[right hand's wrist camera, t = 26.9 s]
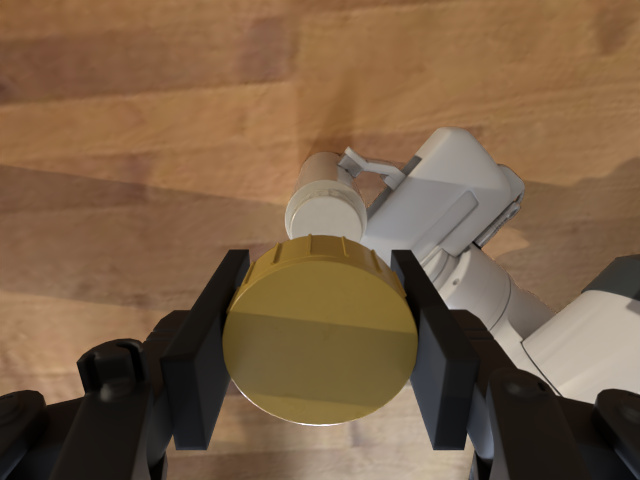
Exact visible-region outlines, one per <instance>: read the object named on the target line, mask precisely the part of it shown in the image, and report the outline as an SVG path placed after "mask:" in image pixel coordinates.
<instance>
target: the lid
mask: <svg viewBox="0 0 640 480" xmlns="http://www.w3.org/2000/svg"><path fill="white" fill-rule="evenodd" d="M405 296H407V295H406V293H405V291H404V289H403V287H402V285H401V282H400V280H399V278H398V276H397V274H396V272H395V271H393V272H392V270H391V269H390V268H389V266H388V265H387V264H386V263H385V262H384V260H382V259H381V258H380V257H379V256H378V255H377V254H376V251H375V250H374V249H372V250H370V249H369V248H367V247H365V246H363V245H361V244H359V243H357V242H355V241H352V240H349V239H346V237H345V236H342V237H337V236H330V235H312V234H308V236H303V237H298V238H295V239H291V240H288V241H286V242H283V243H281V244H280V243H277V244H276V246H275V247H274V248H272V249H270V250H269V251H267V252H266V253H265V254H264V255H262V256H261V257H260V258H259V259H258V260H257V261H256V262H254V261H253V262H252V263H251V265H250V267H249V270H248V272H247V274H246V276H245V278H244V280H243V282H242V284H241V286H240V287H237V289H236V292H235V294H234V296H233V298H232V300H231V302H230V305H229V307H228V309H227V311H226V314H228V315H227V318H226V321H225V324H224V328H223V334H222V345H223V354H224V361H225V365H226V368H227V370H228V372H229V374H230V377H231V379H232V380H233V382H234V383H235V385H236V386H237V388H238V389H239V390H240V391H241V392H242V393H243V394H244V396H245V397H246V398H248V399H249V400H250V401H251V402H252V403H253V404H255V405H256V406H258V407H259V408H261V409H262V410H264V411H266V412H268V413H269V414H271V415H273V416H276V417H278V418H281V419H283V420H287V421H291V422H294V423H300V424H305V425H334V424H341V423H346V422H350V421H354V420H357V419H359V418H362V417H365V416H367V415H369V414H371V413H373V412H375V411H376V410H378V409H380V408H381V407H383V406H384V405H386V404H387V403H388V402H389V401H391V400H392V399H393V398H394V397H395V396H396V395H397V394H398V393H399V392H400V390H401V389H402V388H403V387H404V385H405V384H406V382H407V381H408V379H409V377H410V375H411V374H412V371H413V368H414V366H415V363H416V356H417V348H418V331H417V327H416V323H415V319H414V317H413V315H412V312H411V310H410V308H409V306H408V303H407V301H406V299H405Z"/></svg>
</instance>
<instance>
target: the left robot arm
mask: <svg viewBox="0 0 640 480" xmlns="http://www.w3.org/2000/svg"><path fill="white" fill-rule="evenodd" d="M337 163H338V164H339V165H340V166H341V167H342V168H344V169H347V170H348V172H349V173H350V174H351V175H352V176H353V177H354V178H356V177H357V176H358V174H359V173H360V172H361V171H362V170H363V171H369V172H375V173H381V174H380V177H381V179H382V180H383V181H384V182H385V183H386V184H387V187H386V188H385V189H384V190H383V191H382V192H381V193H380V195H379V196H378V197H377V198H376V199H375V200H374V201H373V203H372V204H371V205H370V206H369V207H368V208H367V209H366V211H367V227H366V231H365V234H364V236H363V238H362V239H361V241H360V243H359V244H361V245H363V246H365V247H367V248H369V249H370V250H372V249H374V250H375V251H376V254H377V255H378V256H379V257H380V258H381V259H382V260H384V262H385V263H386V264H387V265H388V266H389V268H390V263H391V250H411V251H412V252H413V254H414V255H415V257H416V259H417V260H418V262H419V263H420V265H421V266H422V268H423V269H424V271H425V273H426V274H427V276H428V277H429V279H430V280H431V282H432V283H433V285H434V287H435V288H436V290H437V291H438V293H439V294H440V296H441V297H442V299H443V301H444V302H445V304H446V305H447V307H448V308H449V309H467V310H468V311H470V312H471V313H472V314H474V315H475V316H477V317H478V318H480V320H481V321H482V322H483V323H484V325H485V326H486V327H487V330H488V331H490V333H491V334H492V335H493V337H494V340H496V341H497V342H498V343H499V345H500V346H501V347H502V348H503V350H504V351H505V352H506V354H507V355H508V356H509V358H510V359H511V360H512V362H513V363H514V364H515V366H516V367H517V368H518V369H521V370H525V371H528V372H530V373H532V374H534V375H536V376H538V377H540V378H541V379H542V380H544V381H545V382H546V383H547V384H549V386H550V387H551V388H552V390H553V391H554V393H555V395H558V396H561V397H565V398H569V399H574V400H578V401H583V402H587V403H592V404H595V401H596V398H597V395H598V393H600V392H601V391H602V390H604V389H612V388H614V389H621V390H627V391H630V392H634V393H637V394H639V395H640V254H637V255H629V256H623V257H617V258H615V259H614V260H613V261H612V262H611V263H610V264H609V265H608V266H607V267H606V268H605V269H604V270H603V271H602V272H601V273H600V274H599V275H598V276H597V277H596V278H595V279H594V280H593V281H592V282H591V283H590V284H589V285H588V286H587V287H586V288H584V289H583V290H582V292H581V295H580V296H578V297H577V298H576V299H575V300H573V301H572V302H571V303H570V304H568V305H567V306H566V307H565V308H563V309H562V310H561V311H560V312H558V313H557V314H556V313H555V312H553V311H552V310H551V309H550V308H549V307H548V306H547V305H546V304H545V303H543V302H542V301H541V300H540V299H539V298H538V297H536V296H535V295H533V294H532V293H530V292H528V291H526V290H523V289H521V288H519V287H517V286H516V285H515V283H514V281H513V279H512V278H511V276H510V275H509V274H508V273H507V272H506V271H505V270H504V269H503V268H502V267H501V266H500V265H498V264H497V263H496V262H495V261H494V260H493V259H491V258H490V257H489V256H488V255H487V254H485V253H484V252H483V251H482V249H481V248H482V247H483V246H484V245H485V244H486V243H487V242H488V241H489V240H490V239H491V238H492V237H493V236H494V235H495V234H496V233H497V232H498V231H499V229H500V228H501V226H503V225H504V224H505V223H506V222H507V221H508V220H511V219H512V218H513V217H514V216H515V215H516V214H517V213H518V212H519V210H520V209H521V206H520V205H519V204H520V203H521V201H522V199H523V197H524V192H525V185H524V183H523V181H522V180H521V178H520V177H519V176H518V175H517V174H516V173H514V172H513V171H512V170H511V169H510V168H509V167H507V166H506V165H503V164H496V162H495V161H494V160H493V158H492V157H491V156H490V155H489V153H488V152H487V151H486V150H485V148H484V147H483V146H482V145H481V144H480V143H479V142H478V141H477V140H476V139H475V137H474V136H473V135H472V134H470V133H469V132H468V131H467V130H465V129H463V128H460V127H441V128H438V129H437V130H436V131H435V132H434V133H433V134H432V135H431V136H430V137H429V138H428V140H427V141H426V142H425V143H424V144H423V145H422V147H421V148H420V149H419V150H418V151H417V152H416V153H415V155H414V156H413V157H412V158H411V159H410V160H409V161H408V163H407V164H406V165H405V166H404V167H403V168H402V169H401V171H400V170H399V169H398V168H396V167H395V166H394V165H393V164H392V163H390V162H384V161H378V160H371V159H366V160H365V159H364V158H362V157H361V156H360V155H359V154H358V153H356V152H355V151H354V150H353V149H352V148H350V147H349V146H348V147H347V148H346V150H345V151H344V152H343V153H342V155H341V156H340V157H339V159H338V160H337ZM515 198H517V199H516V200H515V201H513V200H514V199H515Z"/></svg>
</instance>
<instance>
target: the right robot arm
mask: <svg viewBox="0 0 640 480" xmlns="http://www.w3.org/2000/svg"><path fill="white" fill-rule="evenodd" d="M249 267H250V260H249V250H229V251H228V253H227V254H226V256H225V257H224V259H223V260H222V262H221V264H220V265H219V267H218V268H217V270H216V271H215V273H214V274H213V276H212V278H211V279H210V281H209V282H208V284H207V285H206V287H205V289H204V290H203V292H202V293H201V295H200V296H199V298H198V299H197V301H196V303H195V304H194V306H193V307H192V309H191V310H174V311H173V312H171V313H170V314H168V315H167V316H165V317H164V318H162V319H161V320H160V321H159V323H158V324H157V325H156V327H155V328H154V329H153V332H151V333H150V335H149V336H148V337H147V339H146V341H144V342H143V344H142V343H141V342H140V341H139V340H135V339H130V338H129V339H116V340H112V341H108V342H105V343H103V344H100V345H98V346H96V347H93V348H92V349H90V350H89V351H88V352H86V353H85V354H83V355H82V356H81V358H80V359H79V360H78V361H77V362H76V363H77V366H78V370H79V373H80V377H81V380H82V384H83V387H84V391H85V395H84V397H81V398H77V399H73V400H69V401H64V402H60V403H55V404H51V405H47V406H46V403H45V400H44V397H43V395H42V394H40V393H39V392H38V391H32V390H23V391H17V392H12V393H9V394H6V395H3V396H0V480H166V477H167V468H168V463H167V456H166V451H165V450H166V448H167V446H168V444H169V441H170V439H171V437H172V435H173V436H174V441H175V447H176V450H207V448H208V445H209V442H210V439H211V436H212V433H213V430H214V427H215V424H216V421H217V418H218V415H219V412H220V409H221V406H222V403H223V400H224V397H225V394H226V391H227V388H228V385H229V382H230V379H231V377H230V374H229V372H228V370H227V368H226V365H225V361H224V354H223V345H222V334H223V328H224V324H225V321H226V318H227V315H228V314H226V311H227V309H228V307H229V305H230V302H231V300H232V298H233V296H234V294H235V292H236V289H237V287H240V286H241V284H242V282H243V280H244V278H245V276H246V274H247V272H248V270H249ZM390 269H391V270H392V272H393V271H395V272H396V274H397V276H398V278H399V280H400V282H401V285H402V287H403V289H404V291H405V293H406V295H407V296H405V299H406V301H407V303H408V306H409V308H410V310H411V312H412V315H413V317H414V319H415V323H416V327H417V331H418V348H417V356H416V363H415V366H414V368H413V371H412V374H411V375H410V377H409V378H410V381H411V384H412V387H413V390H414V393H415V396H416V399H417V402H418V405H419V408H420V411H421V414H422V417H423V420H424V423H425V426H426V429H427V432H428V435H429V438H430V441H431V444H432V447H433V450H464V448H465V443H466V437H467V432H468V435H469V437H470V439H471V441H472V443H473V446H474V448H475V451H474V456H473V461H472V466H471V471H470V476H469V480H640V395H639V394H637V393H634V392H630V391H627V390H621V389H614V388H612V389H604V390H602V391H601V392H600V393H598V395H597V398H596V401H595V404H592V403H587V402H583V401H578V400H574V399H569V398H565V397H561V396H558V395H555V393H554V391H553V390H552V388H551V387H550V386H549V384H547V383H546V382H545V381H544V380H542V379H541V378H540V377H538V376H536V375H534V374H532V373H530V372H528V371H525V370H521V369H518V368H517V367H516V366H515V364H514V363H513V362H512V360H511V359H510V358H509V356H508V355H507V354H506V352H505V351H504V350H503V348H502V347H501V346H500V345H499V343H498V342H497V341H496V340H494V337H493V335H492V334H491V333H490V331H488V330H487V327H486V326H485V325H484V323H483V322H482V321H481V320H480V318H478V317H477V316H475V315H474V314H472V313H471V312H470V311H468V310H467V309H449V308H448V307H447V305H446V304H445V302H444V301H443V299H442V297H441V296H440V294H439V293H438V291H437V290H436V288H435V287H434V285H433V283H432V282H431V280H430V279H429V277H428V276H427V274H426V273H425V271H424V269H423V268H422V266H421V265H420V263H419V262H418V260H417V259H416V257H415V255H414V254H413V252H412V251H411V250H391V263H390Z"/></svg>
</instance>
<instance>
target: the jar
mask: <svg viewBox="0 0 640 480" xmlns="http://www.w3.org/2000/svg"><path fill="white" fill-rule="evenodd" d="M339 157H340V156H339V155H338V154H335V153H333V152H319V153H316V154H313V155H312V156H310V157H309V158H308V159H307V160H306V161H305V162H304V164H303V166H302V168H301V171H300V173H299V176H298V179H297V181H296V184H295V187H294V189H293V192H292V195H291V197H290V200H289V203H288V205H287V208H286V212H285V226H286V230H287V233H288V236H289V238H290V240H291V239H295V238H298V237H303V236H308V234H312V235H330V236H337V237H342V236H345V237H346V239H349V240H352V241H355V242H357V243H360V241H361V239H362V238H363V236H364V234H365V231H366V227H367V211H366V207H365V205H364V202H363V200H362V197H361V195H360V192H359V190H358V188H357V185H356V183H355V180H354V178H353V176H352V175H351V174H350V173H349V172H348V170H347V169H344V168H342V167H341V166H340V165H339V164H338V163H337V160H338V159H339Z"/></svg>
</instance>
